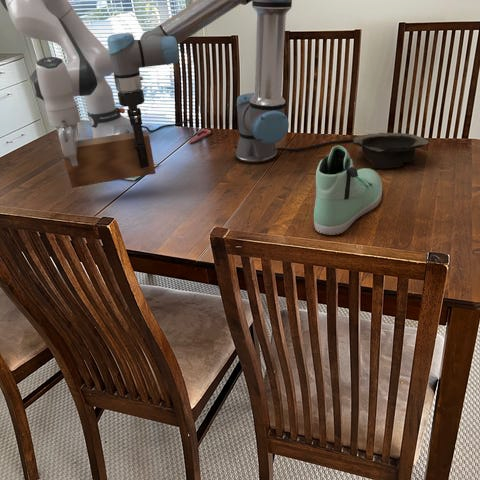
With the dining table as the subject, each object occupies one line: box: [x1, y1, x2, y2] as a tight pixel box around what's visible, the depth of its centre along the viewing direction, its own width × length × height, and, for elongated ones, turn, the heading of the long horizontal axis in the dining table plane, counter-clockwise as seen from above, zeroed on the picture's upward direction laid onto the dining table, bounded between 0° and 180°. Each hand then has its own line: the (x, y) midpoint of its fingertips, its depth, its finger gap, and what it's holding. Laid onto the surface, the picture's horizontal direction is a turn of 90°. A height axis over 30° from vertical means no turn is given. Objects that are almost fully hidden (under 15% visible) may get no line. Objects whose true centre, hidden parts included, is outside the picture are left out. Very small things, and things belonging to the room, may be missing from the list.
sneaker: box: [313, 145, 383, 236], centre depth 133 cm, size 14×35×20 cm, turn 152°
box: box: [60, 129, 156, 189], centre depth 151 cm, size 26×6×13 cm, turn 105°
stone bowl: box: [352, 132, 430, 170], centre depth 165 cm, size 25×25×9 cm
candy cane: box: [188, 128, 212, 145], centre depth 200 cm, size 6×15×2 cm, turn 145°
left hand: (75, 160), depth 148 cm, fingers closed on box, 6 cm apart
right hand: (143, 162), depth 154 cm, fingers closed on box, 6 cm apart
